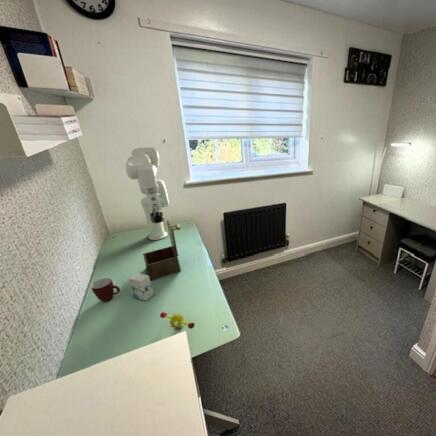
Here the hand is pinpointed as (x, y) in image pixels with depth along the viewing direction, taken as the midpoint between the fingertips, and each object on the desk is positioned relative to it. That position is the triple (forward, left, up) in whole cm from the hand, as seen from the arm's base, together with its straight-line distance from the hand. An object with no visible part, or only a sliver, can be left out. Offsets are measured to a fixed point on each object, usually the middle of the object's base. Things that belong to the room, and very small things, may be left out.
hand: (157, 219), depth 134 cm
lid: (+5, +5, -11) cm, 13 cm away
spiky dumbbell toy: (+55, -5, -30) cm, 63 cm away
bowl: (0, 0, -1) cm, 1 cm away
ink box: (+24, -15, -30) cm, 41 cm away
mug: (+17, -29, -30) cm, 45 cm away
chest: (+5, -3, -30) cm, 31 cm away
